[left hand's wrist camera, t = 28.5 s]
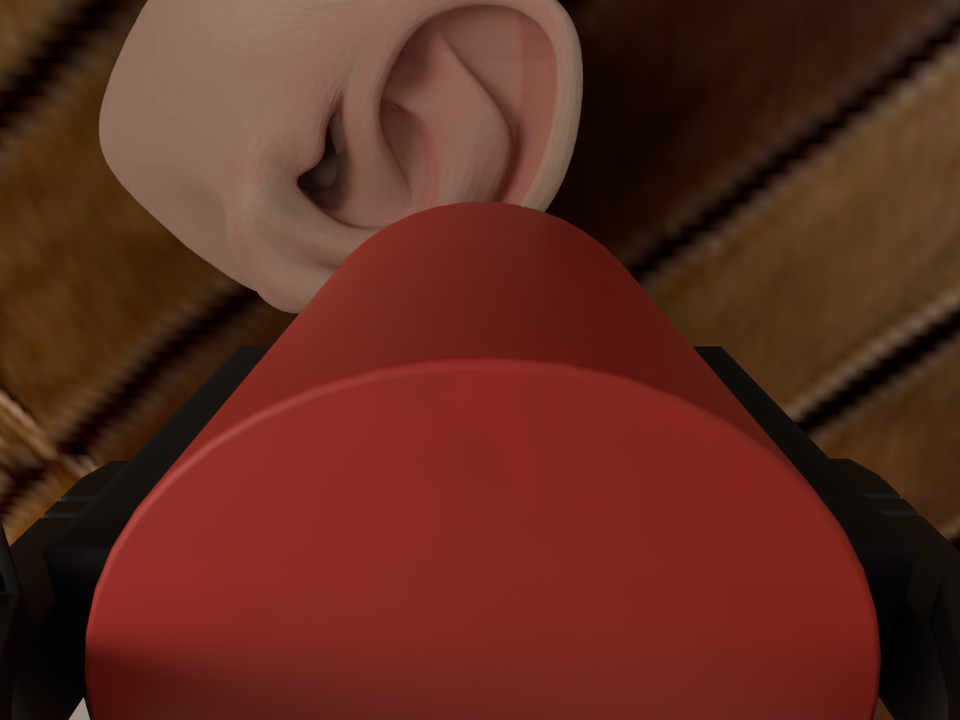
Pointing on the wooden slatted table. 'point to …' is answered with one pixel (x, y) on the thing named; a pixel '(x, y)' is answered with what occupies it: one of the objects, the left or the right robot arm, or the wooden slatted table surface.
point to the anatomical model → (335, 122)
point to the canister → (482, 514)
